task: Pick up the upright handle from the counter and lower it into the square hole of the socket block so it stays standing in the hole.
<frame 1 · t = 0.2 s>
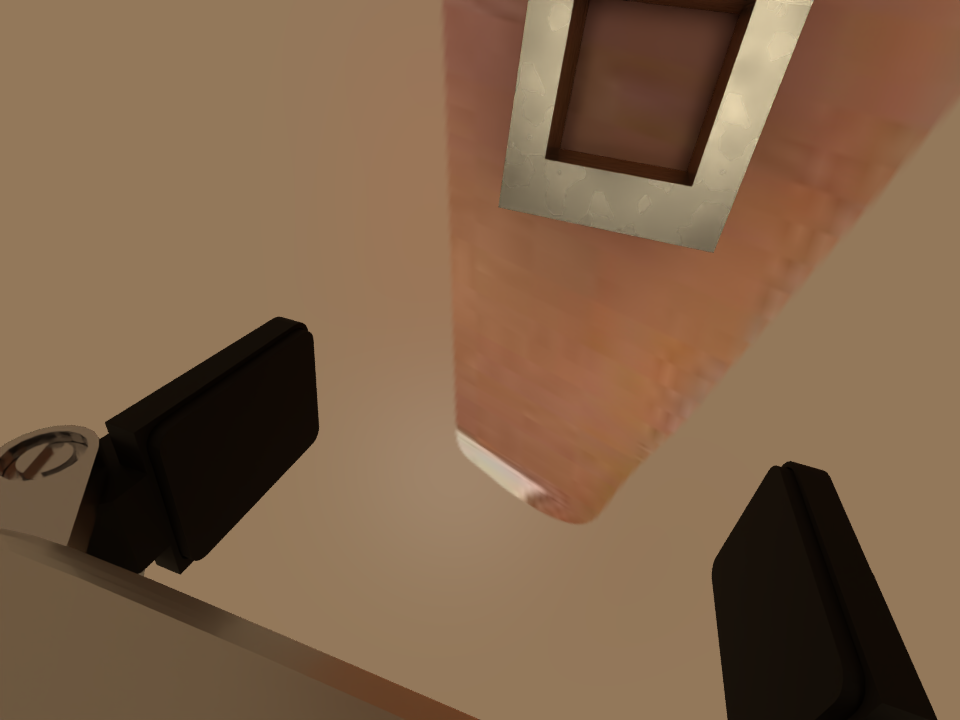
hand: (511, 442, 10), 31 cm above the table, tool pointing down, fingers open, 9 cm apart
socket block: (640, 88, 32), on the table
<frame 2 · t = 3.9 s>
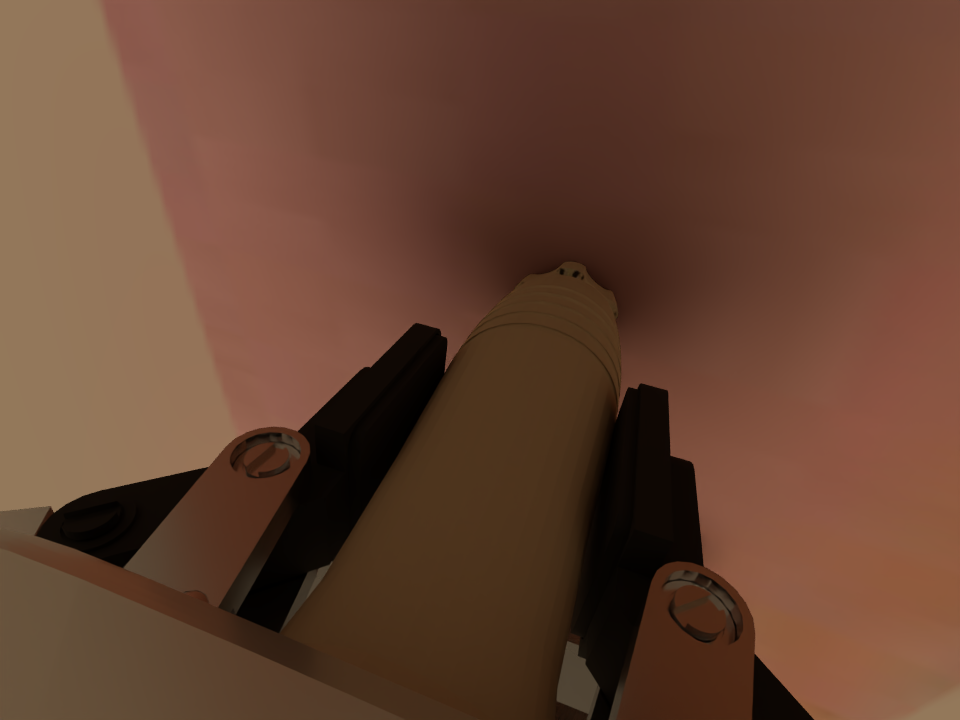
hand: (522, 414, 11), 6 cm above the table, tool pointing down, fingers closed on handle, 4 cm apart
socket block: (496, 591, 24), on the table
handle: (567, 303, 16), on the table, touching gripper
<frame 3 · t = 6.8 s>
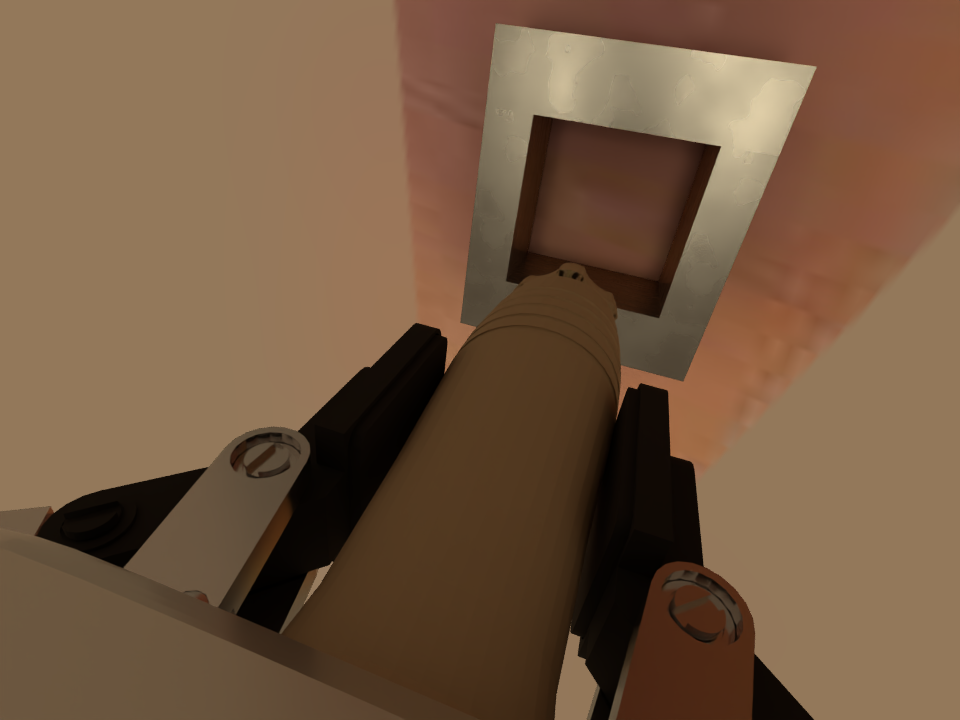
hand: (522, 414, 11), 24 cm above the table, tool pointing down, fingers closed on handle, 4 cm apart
socket block: (609, 199, 31), on the table
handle: (566, 304, 16), point 18 cm above the table, touching gripper
when the fingers open (7 cm above the table, at t = 9.8 s): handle stays where it is, resting in socket block.
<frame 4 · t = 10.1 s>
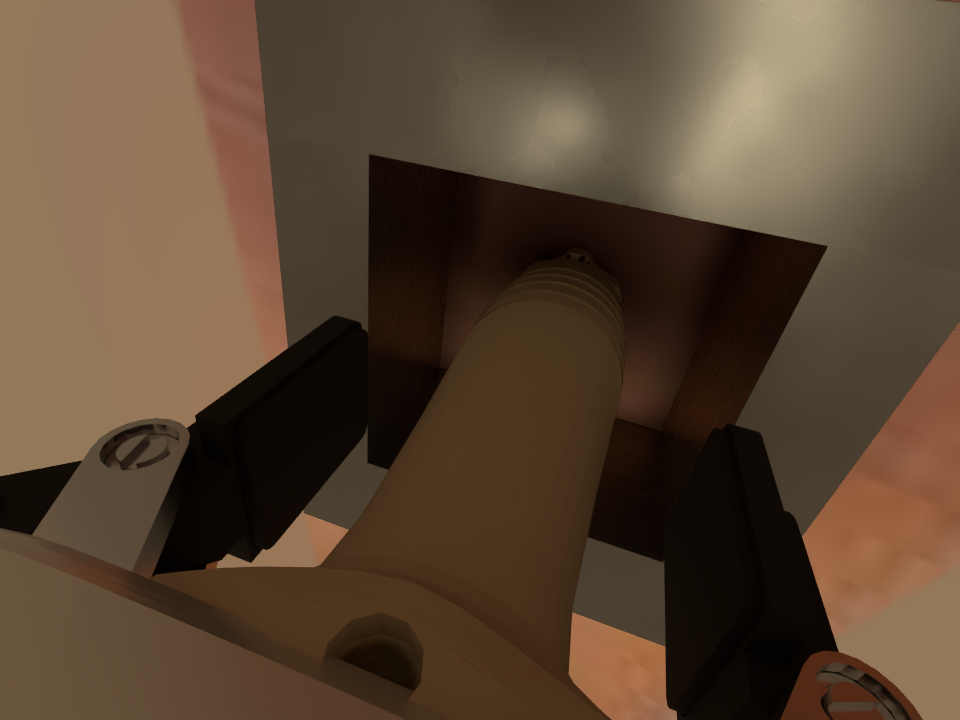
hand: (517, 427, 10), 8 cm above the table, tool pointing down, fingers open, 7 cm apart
socket block: (570, 294, 17), on the table
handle: (572, 288, 17), resting in socket block
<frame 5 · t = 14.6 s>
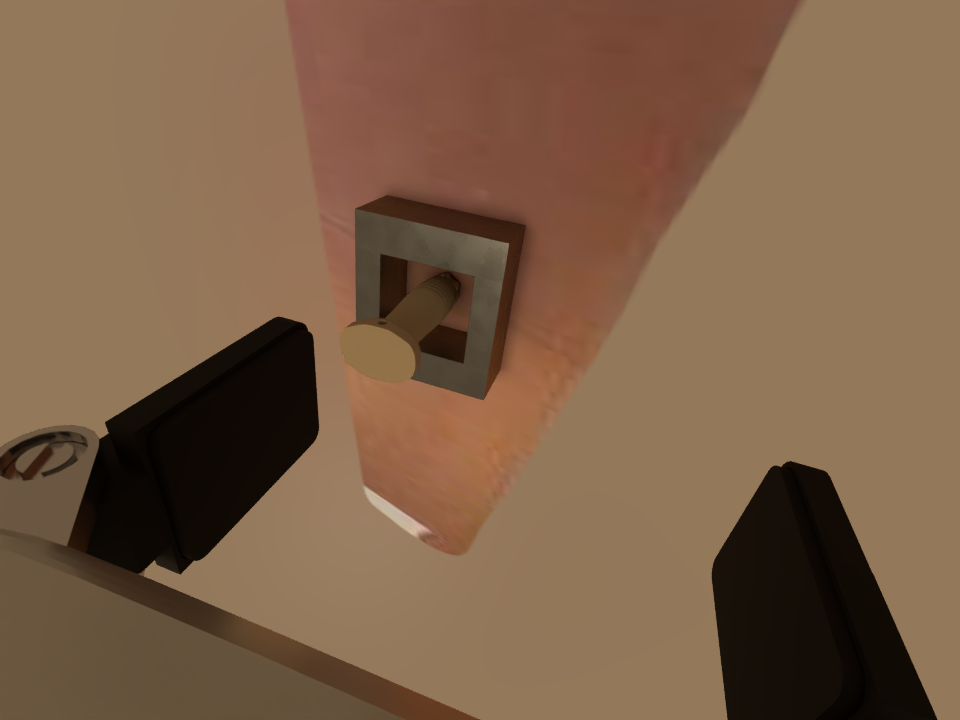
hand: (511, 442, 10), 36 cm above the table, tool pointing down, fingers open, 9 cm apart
socket block: (446, 287, 50), on the table
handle: (447, 285, 50), resting in socket block
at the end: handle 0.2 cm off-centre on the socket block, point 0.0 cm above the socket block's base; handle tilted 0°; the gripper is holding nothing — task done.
